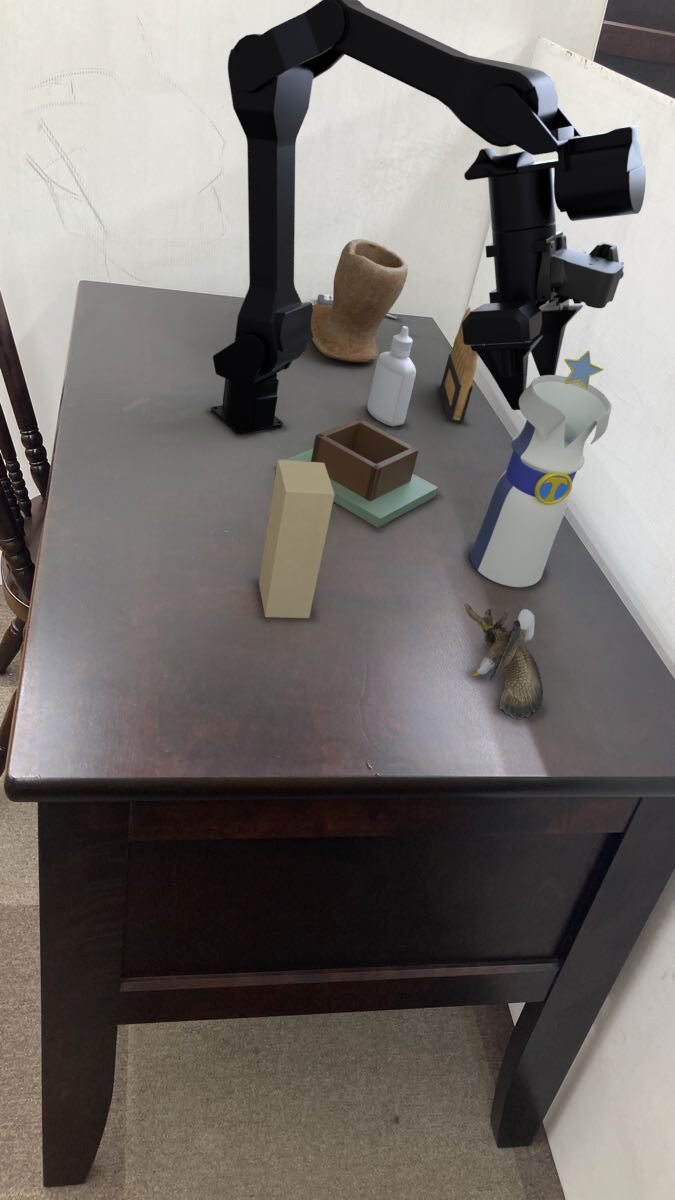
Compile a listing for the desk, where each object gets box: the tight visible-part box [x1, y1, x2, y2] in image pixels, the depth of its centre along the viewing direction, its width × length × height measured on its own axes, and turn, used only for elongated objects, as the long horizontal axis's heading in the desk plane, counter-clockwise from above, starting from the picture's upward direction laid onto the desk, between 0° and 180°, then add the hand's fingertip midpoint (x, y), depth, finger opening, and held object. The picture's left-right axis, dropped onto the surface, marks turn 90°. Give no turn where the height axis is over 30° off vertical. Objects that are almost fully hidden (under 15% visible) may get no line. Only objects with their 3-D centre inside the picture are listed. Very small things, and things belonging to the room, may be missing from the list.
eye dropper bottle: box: [366, 325, 417, 427], centre depth 111 cm, size 4×6×12 cm
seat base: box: [284, 417, 439, 529], centre depth 98 cm, size 14×11×5 cm
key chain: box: [317, 293, 398, 319], centre depth 144 cm, size 13×4×2 cm, turn 95°
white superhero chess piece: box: [469, 350, 612, 588], centre depth 84 cm, size 8×9×25 cm
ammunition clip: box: [439, 306, 479, 424], centre depth 118 cm, size 11×2×12 cm, turn 1°
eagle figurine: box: [464, 602, 544, 720], centre depth 76 cm, size 8×7×9 cm
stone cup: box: [311, 238, 409, 363], centre depth 127 cm, size 15×12×15 cm
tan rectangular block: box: [258, 459, 335, 619], centre depth 77 cm, size 5×4×13 cm
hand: (533, 395), depth 88 cm, fingers open, 9 cm apart
